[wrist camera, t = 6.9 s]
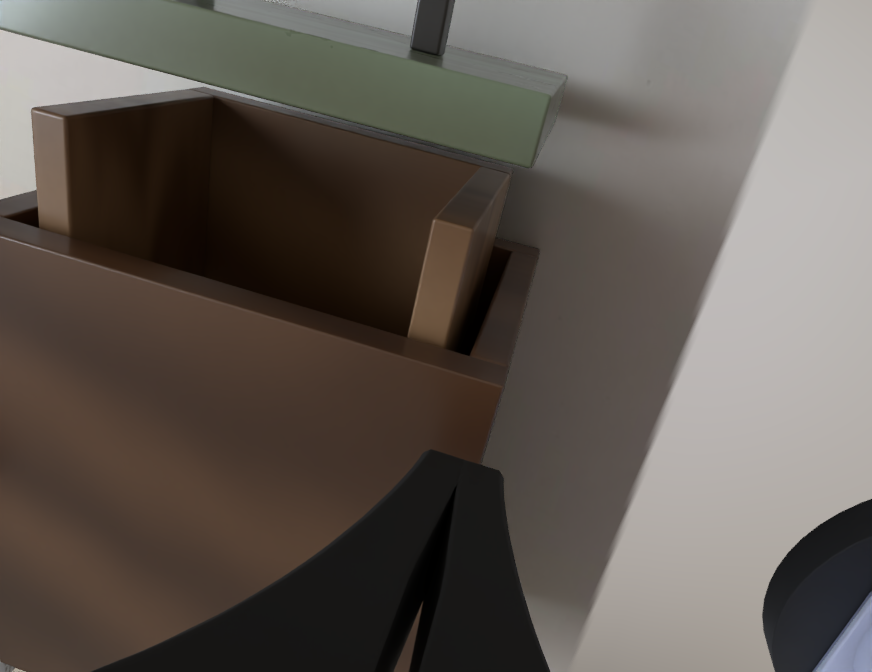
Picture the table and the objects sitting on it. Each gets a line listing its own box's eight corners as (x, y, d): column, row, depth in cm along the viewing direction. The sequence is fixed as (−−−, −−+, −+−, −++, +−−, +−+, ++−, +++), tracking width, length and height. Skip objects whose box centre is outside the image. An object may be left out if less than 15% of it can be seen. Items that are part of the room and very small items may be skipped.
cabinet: (182, 150, 20) (-65, 215, 13) (540, 249, 19) (504, 386, 12) (171, 483, 26) (-1, 662, 19) (442, 574, 25) (376, 806, 18)
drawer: (197, -230, 15) (-61, -405, 9) (629, -140, 14) (654, -273, 8) (176, 375, 23) (26, 494, 17) (457, 464, 22) (405, 626, 16)
